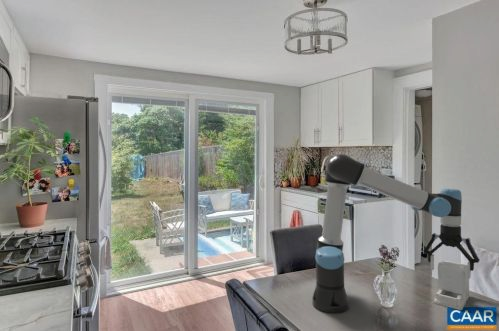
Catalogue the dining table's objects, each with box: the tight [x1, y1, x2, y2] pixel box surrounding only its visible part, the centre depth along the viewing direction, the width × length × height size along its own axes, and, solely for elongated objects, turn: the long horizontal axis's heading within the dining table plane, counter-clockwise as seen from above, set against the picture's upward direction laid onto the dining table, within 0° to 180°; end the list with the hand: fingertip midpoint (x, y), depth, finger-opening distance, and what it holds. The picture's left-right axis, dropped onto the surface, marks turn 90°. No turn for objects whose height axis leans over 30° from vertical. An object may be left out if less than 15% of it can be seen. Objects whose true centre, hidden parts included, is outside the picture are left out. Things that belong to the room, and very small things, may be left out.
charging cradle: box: [433, 259, 470, 311], centre depth 134 cm, size 10×18×14 cm, turn 136°
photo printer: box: [437, 261, 466, 295], centre depth 133 cm, size 10×4×12 cm, turn 39°
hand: (449, 273), depth 133 cm, fingers open, 13 cm apart
